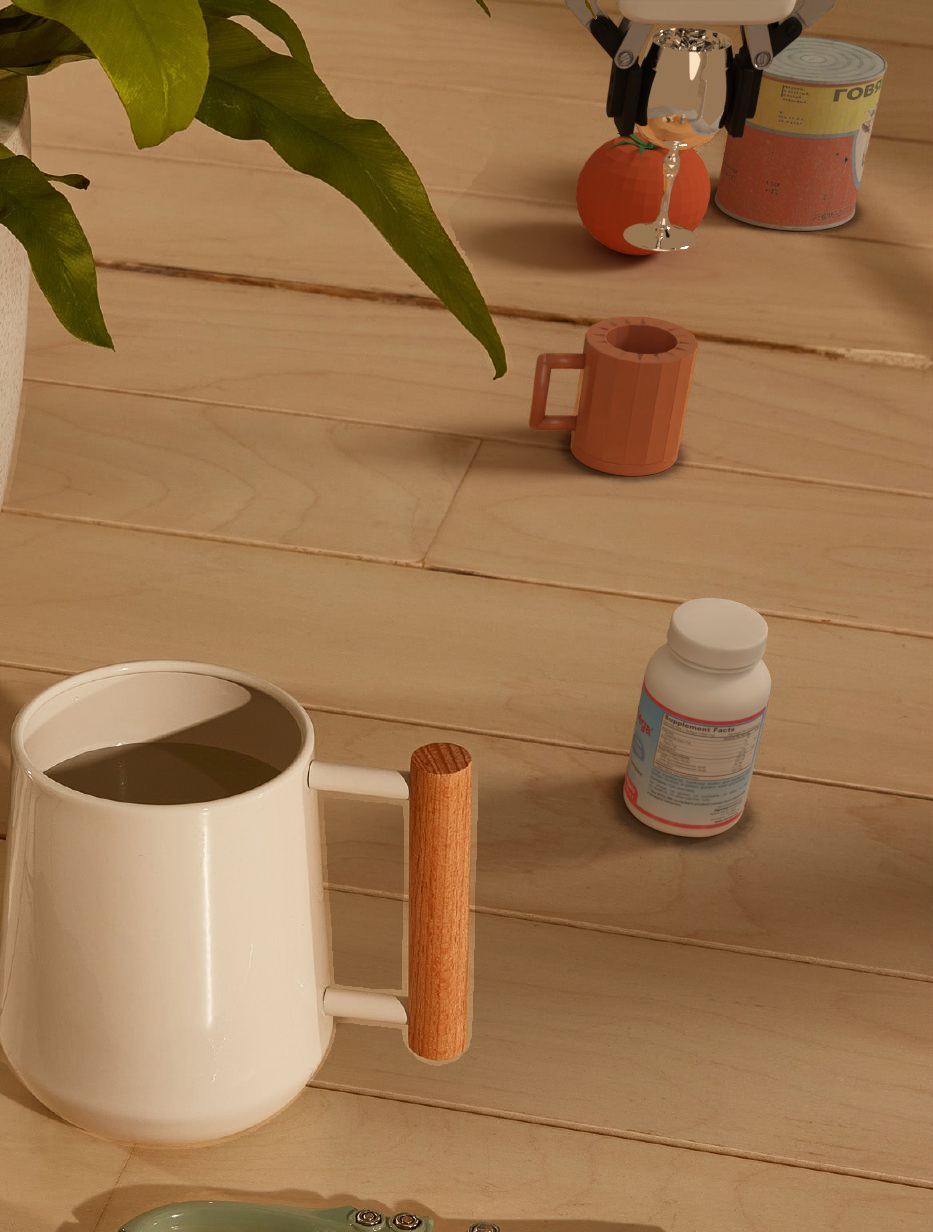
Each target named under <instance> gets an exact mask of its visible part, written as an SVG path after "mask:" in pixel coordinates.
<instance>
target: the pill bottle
mask: <svg viewBox="0 0 933 1232" xmlns="http://www.w3.org/2000/svg"><path fill="white" fill-rule="evenodd" d="M768 636H769V627H768V623H767V621H766V619H765V618H764V617H763V616H762V615H761V614H760V613H759V612H758V611H756V610H755V609H753V608H752V607H750V606H748V605H746V604H744V603H741V602H738V601H735V600H731V599H726V598H719V597H701V598H700V597H699V598H694V599H691V600H688V601H684V602H682V603H681V604H679V605H678V606H677V607H676V608H675V609H674V610H673V611H672V614H671V616H670V620H669V625H668V629H667V632H666V642H665V643H664V644H663V645H662V646H660V647H658V649H656V651H654V653H653V654H652V655H651V657H650V658H649V660H648V662H647V664H646V668H645V672H644V676H643V680H642V686H641V690H640V691H641V692H640V697H639V702H638V706H637V713H636V718H635V723H634V728H633V734H632V739H631V743H630V750H629V756H628V761H627V766H626V771H625V777H624V783H623V790H622V791H623V799H624V802H625V804H626V807H627V809H628V810H629V811H630V813H631V814H632V815H633V816H634V817H635V818H636V819H637V820H638V821H640V822H641V823H643V824H644V825H646V826H647V827H649V828H652V829H654V830H656V831H659V832H661V833H665V834H668V835H669V834H670V835H674V836H681V837H687V838H708V837H712V836H717V835H719V834H722V833H724V832H726V831H728V830H729V829H731V828H732V827H734V826H735V825H736V824H737V823H738V822H739V821H740V819H741V818H742V816H743V813H744V810H745V806H746V803H747V799H748V795H749V791H750V785H751V781H752V777H753V773H754V769H755V768H754V767H755V763H756V761H757V755H758V751H759V746H760V742H761V737H762V733H763V729H764V724H765V719H766V715H767V711H768V707H769V701H770V697H771V692H772V678H771V677H772V676H771V673H770V671H769V669H768V667H767V665H766V663H765V662H764V661H763V659H762V658H763V657H764V655H765V654H766V649H767V641H768Z"/></svg>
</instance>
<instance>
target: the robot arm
mask: <svg viewBox="0 0 933 1232" xmlns="http://www.w3.org/2000/svg"><path fill="white" fill-rule="evenodd" d="M597 1H598V0H590V5H591V8H593V12H594V13H595V15H596V16H597V19H596V20H595V19H594V18H593V16H592V14H591V13H590V12H589V9H588V8H587V7H586V4H585V0H564V3H565V5H566V7H567V9H568V10H569V11H570V12H571V13H572V14H573V15H574V17H575V18H576V19H577V20H578V21H579V22H580V23H581V24H582V26H583V27H585V29H586V30H587V31H588V32H589V33H590V34H591V35H592V37H593V39H594V40H596V42H597V43H598V44H599V45H600V47H601V48H602V49H603V50H604V51H605V53H606V54H607V55H608V56H609V57H610V58H611V60H612V62H611V68H610V75H609V83H608V89H607V96H606V105H605V111H606V112H605V114H606V116H607V118H608V119H609V118H610V119H613V124H614V126H615V127H616V131H617V133H619V134H618V135H619V136H620V137H629V136H630V134H633V133H635V128H636V126H635V120H636V114H637V107H638V100H639V94H640V87H641V80H642V69H641V67H640V64H639V61H640V53H641V52H642V49H643V47H644V45H645V44H646V42H647V39H648V38H649V36H650V34H651V32H652V30H653V28H654V26H655V25H659V26H660V25H663V26H664V25H665V26H666V25H667V26H738V31H739V37H740V40H741V46H740V47H739V49H738V53H734V56H733V60H734V88H733V98H732V105H731V109H730V112H729V115H728V118H727V121H726V123H725V125H724V128H725V130H726V132H727V134H729V135H731V136H732V137H733V138H742V136H743V132H744V127H745V121H746V119H753V118H754V116H755V112H756V107H757V102H758V96H759V91H760V85H761V80H762V75H763V69H766V68H768V67H769V66H770V65H771V63H772V61H773V58H774V57H775V56H777V55H778V54H779V53H780V52H781V51H782V50H784V49H785V48H786V47H787V46H788V45H790V44H791V43H792V42H793V41H794V40H796V39H797V38H798V37H801V34H802V32H803V31H804V30H805V29H807V28H810V27H811V26H812V25H813V24H814V23H816V22H817V21H818V20H819V19H821V18H822V17H823V16H825V15H826V14H827V13H829V12H830V11H831V10H832V8H833V7H834V5H835V0H615V5H616V8H617V9H618V10H619V13H620V14H621V16H620V18H619V20H618V22H617V24H615V22H614V21H613V19H611V18H610V16H609V15H608V14H607V13H606V12H605V11H604V10H603V9H602V8H601V6H599V4H598V3H597Z"/></svg>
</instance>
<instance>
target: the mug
mask: <svg viewBox="0 0 933 1232" xmlns="http://www.w3.org/2000/svg"><path fill="white" fill-rule="evenodd" d="M698 349H699V343H698V340H697V338H696V336H695V335H694V334H693V333H692V332H690V330H688V329H686V328H685V327H683V326H682V325H679V324H676V323H673V322H671V321H668V320H665V319H660V318H654V317H649V316H625V315H624V316H616V317H611V318H606V319H602V320H599V321H598V322H596V323H594V324H592V325H590V326H589V328H588V330H587V331H586V333H585V334H584V341H583V347H582V353H581V352H580V353H579V352H574V353H573V352H572V353H571V352H562V353H561V352H543V353H540V354H539V355H538V356H537V357H536V362H535V371H534V376H533V377H534V379H533V386H532V393H531V401H530V409H529V418H528V427H529V428H530V429H531V430H533V431H559V432H560V431H564V432H566V431H567V432H569V431H570V435H571V436H570V437H571V438H570V444H569V447H570V451H571V454H572V456H573V457H574V458H575V459H576V460H578V461H579V462H580V463H581V464H583V465H585V466H587V467H589V468H590V469H593V470H596V471H599V472H603V473H605V474H610V475H616V476H624V477H625V476H627V477H640V476H641V477H642V476H649V475H654V474H659V473H662V472H664V471H666V470H668V469H669V468H671V467H672V466H674V464H675V463H676V461H677V459H678V457H679V451H680V450H679V449H680V447H681V444H682V438H683V433H684V427H685V423H686V417H687V411H688V406H689V405H688V404H689V400H690V393H691V388H692V383H693V378H694V371H695V365H696V359H697V354H698ZM552 370H579V376H578V383H577V390H576V397H575V404H574V412H573V414H572V415H571V414H569V415H568V414H546V412H547V411H546V410H547V404H548V396H549V390H550V381H551V375H552Z"/></svg>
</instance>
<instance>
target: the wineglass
mask: <svg viewBox="0 0 933 1232" xmlns="http://www.w3.org/2000/svg"><path fill="white" fill-rule="evenodd" d="M733 58H734V48H733V41H732V39H731V38H730V37H729V36H728V35H726V34H724V33H722V32H718V31H716V30H712V29H711V30H710V29H706V28H700V27H672V28H671V27H669V28H665V29H660V30H658V31H657V30H656V31H655V32H654V33H652V35H651V36H650V38H649V41H648V42H647V45H646V47H645V51H644V53H643V56H642V59H641V62H640V64H639V65H640V67H641V69H642V80H641V87H640V94H639V100H638V107H637V114H636V120H635V128H636V130H637V132H639V133H640V134H641V135H642V136H643V137H644V138H645V139H646V140H648V141H649V142H651V143H653V144H655V145H657V146H659V147H662V148H664V149H669V153H668V154H667V155H666V157H665V159H664V163H663V174H664V190H663V197H662V203H661V208H660V212H659V215H658V217H657V219H656V220H655V221H654V222H647V223H639V224H635V225H632V226H630V227H628V228H627V229H626V230H625V231H624V233H623V236H624V239H625V240H626V241H627V242H628V243H630V244H632V245H634V246H636V247H639V248H642V249H646V250H652V251H662V252H661V253H666V252H667V253H669V252H681V251H684V250H687V249H690V248H692V247H693V246H695V245H696V243H697V242H698V241H697V240H698V239H697V238H698V237H697V235H696V234H695V232H694V231H693V232H692V231H690V230H688V229H686V228H684V227H682V226H678V225H675V224H671V223H670V222H669V218H668V208H669V201H670V194H671V189H672V186H673V183H674V180H675V177H676V175H677V173H678V170H679V167H680V157H679V155H678V151H679V150H687V149H692V148H693V149H695V148H698V147H701V146H703V145H705V144H707V143H710V142H711V141H712V140H713V139H715V138H716V137H717V136H718V135H719V133H720V132H722V130H723V129H724V128H725V126H724V125H725V123H726V121H727V118H728V115H729V112H730V109H731V105H732V98H733V88H734V60H733Z"/></svg>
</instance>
